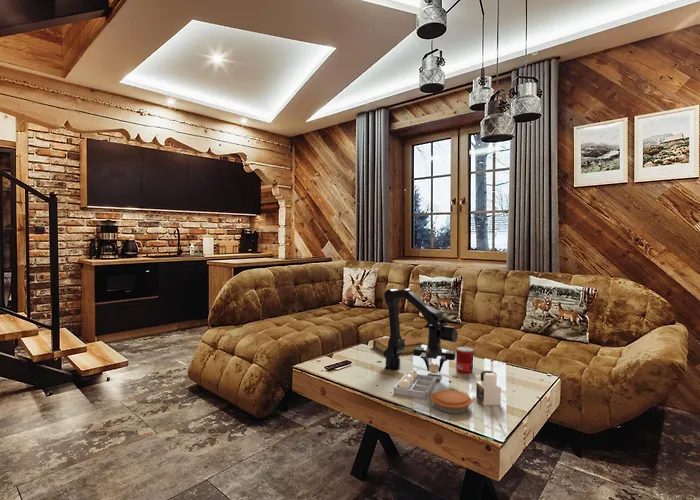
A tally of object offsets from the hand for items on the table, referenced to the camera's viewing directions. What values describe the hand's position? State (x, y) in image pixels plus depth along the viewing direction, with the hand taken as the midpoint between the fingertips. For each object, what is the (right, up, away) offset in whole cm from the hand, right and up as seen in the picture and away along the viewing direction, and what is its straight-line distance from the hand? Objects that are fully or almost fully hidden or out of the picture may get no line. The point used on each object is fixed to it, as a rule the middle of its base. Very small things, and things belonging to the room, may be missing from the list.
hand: (434, 371), depth 183 cm
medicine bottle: (+16, -4, -26) cm, 31 cm away
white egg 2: (-13, 0, -11) cm, 17 cm away
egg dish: (0, -3, 0) cm, 3 cm away
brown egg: (0, +2, 0) cm, 2 cm away
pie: (0, -4, -31) cm, 32 cm away
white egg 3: (-16, -1, -17) cm, 23 cm away
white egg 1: (-11, 0, -4) cm, 12 cm away
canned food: (+18, -3, +11) cm, 21 cm away
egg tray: (-10, -3, -12) cm, 16 cm away
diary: (-11, -3, +48) cm, 50 cm away
